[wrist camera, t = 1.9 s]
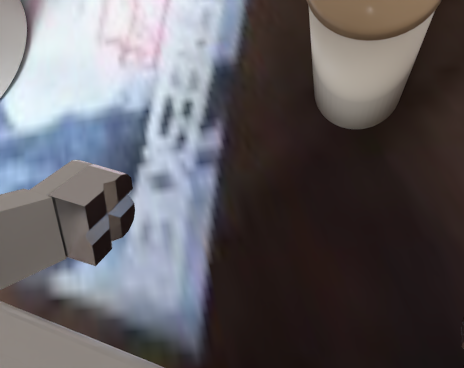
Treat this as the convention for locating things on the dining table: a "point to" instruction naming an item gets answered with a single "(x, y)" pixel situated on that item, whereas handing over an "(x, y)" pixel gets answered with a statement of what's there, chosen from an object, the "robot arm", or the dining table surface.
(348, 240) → the dining table surface
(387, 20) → the canister
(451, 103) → the dining table surface
